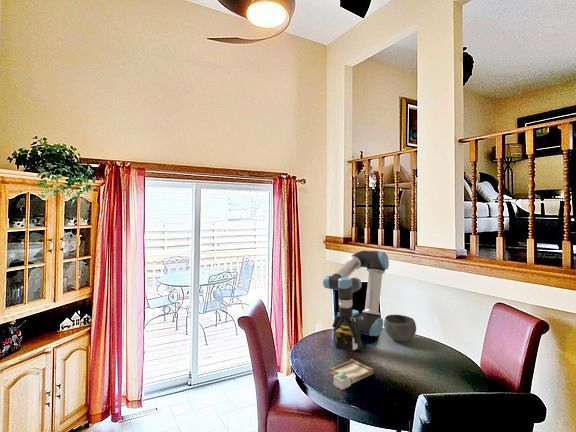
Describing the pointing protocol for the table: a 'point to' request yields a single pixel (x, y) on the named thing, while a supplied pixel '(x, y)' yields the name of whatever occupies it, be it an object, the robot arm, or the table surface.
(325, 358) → the table surface
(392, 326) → the bowl
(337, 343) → the candle
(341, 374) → the button
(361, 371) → the beige square tray
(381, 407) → the table surface
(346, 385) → the button housing
